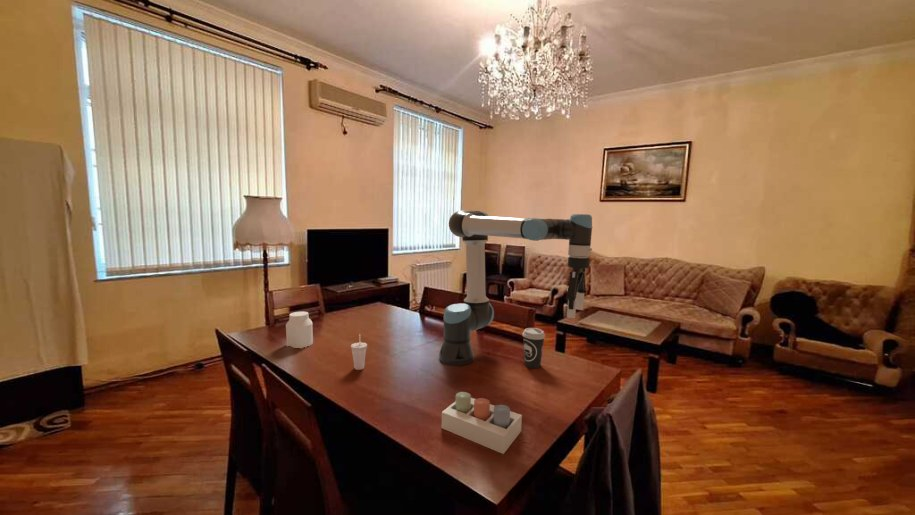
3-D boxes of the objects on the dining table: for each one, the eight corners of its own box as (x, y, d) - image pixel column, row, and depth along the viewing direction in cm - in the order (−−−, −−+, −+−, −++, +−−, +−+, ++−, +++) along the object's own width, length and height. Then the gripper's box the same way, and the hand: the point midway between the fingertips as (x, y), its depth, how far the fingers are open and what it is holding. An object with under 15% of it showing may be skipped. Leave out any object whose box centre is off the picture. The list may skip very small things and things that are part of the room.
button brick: (470, 422, 101) (471, 403, 100) (478, 415, 105) (478, 396, 104) (484, 428, 98) (485, 408, 98) (492, 420, 102) (492, 401, 101)
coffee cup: (544, 371, 142) (546, 335, 140) (520, 368, 144) (522, 333, 142) (543, 361, 151) (545, 328, 149) (521, 359, 153) (522, 326, 151)
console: (441, 428, 102) (441, 412, 101) (463, 409, 112) (463, 394, 112) (503, 454, 91) (504, 436, 91) (521, 431, 101) (521, 415, 101)
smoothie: (370, 366, 143) (370, 333, 141) (360, 372, 137) (359, 338, 135) (358, 363, 146) (358, 331, 144) (347, 369, 140) (347, 335, 138)
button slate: (490, 430, 97) (490, 410, 97) (497, 422, 101) (498, 403, 100) (505, 436, 95) (506, 415, 94) (512, 427, 99) (512, 407, 98)
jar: (316, 343, 167) (315, 313, 165) (298, 350, 159) (297, 318, 157) (301, 339, 172) (300, 309, 171) (283, 345, 164) (281, 314, 162)
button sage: (452, 415, 104) (452, 396, 103) (460, 408, 108) (460, 390, 107) (465, 420, 102) (465, 401, 101) (473, 413, 106) (473, 394, 105)
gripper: (582, 260, 114) (578, 323, 117) (595, 254, 135) (592, 307, 138) (559, 259, 118) (555, 319, 120) (576, 253, 139) (572, 304, 142)
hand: (575, 313), depth 129 cm, fingers open, 13 cm apart
